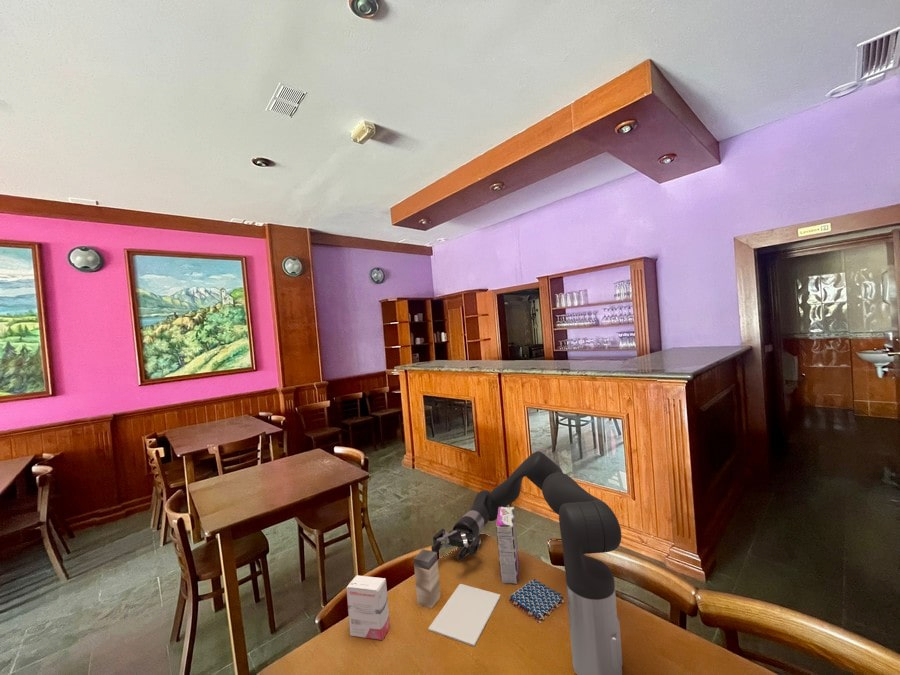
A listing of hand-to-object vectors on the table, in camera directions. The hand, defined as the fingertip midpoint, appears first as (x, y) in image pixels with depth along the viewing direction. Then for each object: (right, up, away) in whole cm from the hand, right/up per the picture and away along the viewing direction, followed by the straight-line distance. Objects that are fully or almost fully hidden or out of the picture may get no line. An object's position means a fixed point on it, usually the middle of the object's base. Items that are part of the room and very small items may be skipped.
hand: (445, 554), depth 106 cm
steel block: (-4, -7, -9) cm, 12 cm away
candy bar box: (+19, -5, 0) cm, 19 cm away
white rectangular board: (+5, -6, -14) cm, 17 cm away
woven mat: (+23, -5, -13) cm, 27 cm away
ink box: (-18, -8, -18) cm, 27 cm away
